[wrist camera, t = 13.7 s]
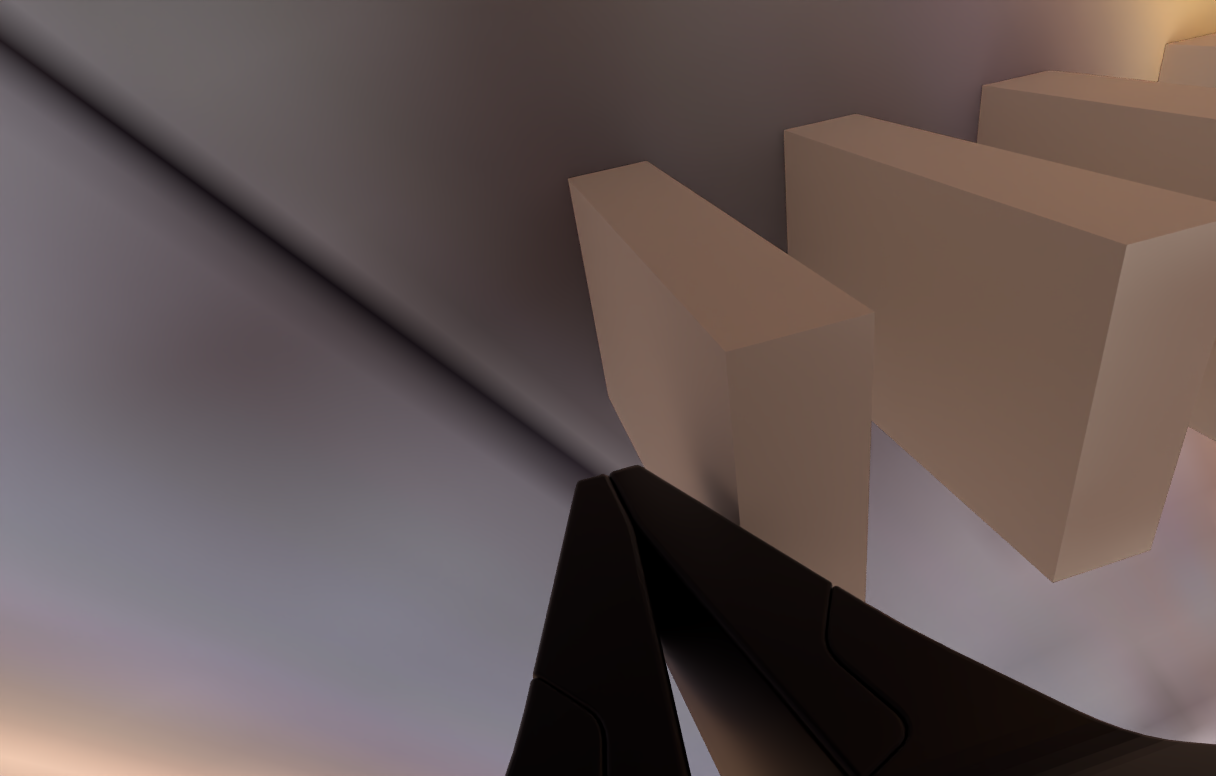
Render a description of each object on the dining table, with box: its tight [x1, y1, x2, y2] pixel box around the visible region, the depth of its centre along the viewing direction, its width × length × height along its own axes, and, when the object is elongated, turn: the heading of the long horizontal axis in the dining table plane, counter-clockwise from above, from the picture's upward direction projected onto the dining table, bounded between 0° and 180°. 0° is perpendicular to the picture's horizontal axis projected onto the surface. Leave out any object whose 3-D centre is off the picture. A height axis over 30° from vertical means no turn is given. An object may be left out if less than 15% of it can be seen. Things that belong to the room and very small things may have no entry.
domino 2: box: [784, 114, 1216, 583], centre depth 12 cm, size 5×2×8 cm, turn 10°
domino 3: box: [977, 70, 1216, 441], centre depth 13 cm, size 5×2×8 cm, turn 10°
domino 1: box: [568, 161, 875, 602], centre depth 12 cm, size 5×2×8 cm, turn 10°
